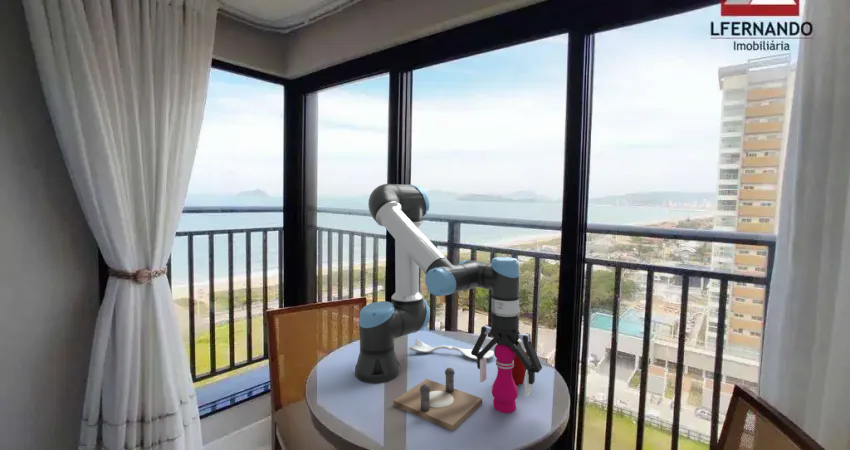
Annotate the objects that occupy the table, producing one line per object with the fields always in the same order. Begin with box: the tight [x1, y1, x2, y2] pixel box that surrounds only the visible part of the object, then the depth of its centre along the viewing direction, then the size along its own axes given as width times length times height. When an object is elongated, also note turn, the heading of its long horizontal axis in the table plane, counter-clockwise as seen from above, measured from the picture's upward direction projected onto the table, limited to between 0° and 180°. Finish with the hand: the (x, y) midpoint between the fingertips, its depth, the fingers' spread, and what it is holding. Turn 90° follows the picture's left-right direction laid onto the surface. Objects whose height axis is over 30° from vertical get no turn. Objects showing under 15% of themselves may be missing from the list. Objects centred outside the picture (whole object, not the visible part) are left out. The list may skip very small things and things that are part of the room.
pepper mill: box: [491, 343, 519, 414], centre depth 102 cm, size 7×7×20 cm
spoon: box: [408, 339, 495, 361], centre depth 139 cm, size 9×32×4 cm, turn 74°
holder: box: [392, 367, 483, 432], centre depth 104 cm, size 20×16×8 cm
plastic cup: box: [512, 340, 529, 386], centre depth 117 cm, size 11×11×12 cm
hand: (504, 387), depth 102 cm, fingers open, 13 cm apart
